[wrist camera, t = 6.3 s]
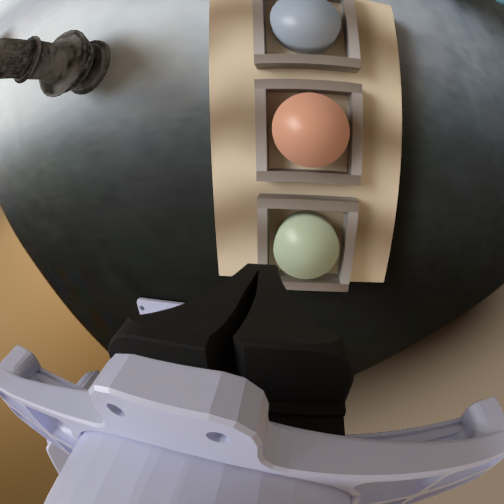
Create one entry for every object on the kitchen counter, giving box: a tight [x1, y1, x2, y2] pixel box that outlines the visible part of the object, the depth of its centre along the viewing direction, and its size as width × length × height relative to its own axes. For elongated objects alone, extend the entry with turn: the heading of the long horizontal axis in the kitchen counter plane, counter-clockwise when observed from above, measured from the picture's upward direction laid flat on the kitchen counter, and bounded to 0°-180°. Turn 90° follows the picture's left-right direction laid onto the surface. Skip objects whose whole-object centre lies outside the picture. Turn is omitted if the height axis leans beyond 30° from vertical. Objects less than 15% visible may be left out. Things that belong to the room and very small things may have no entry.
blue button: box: [270, 0, 341, 54], centre depth 11 cm, size 4×4×2 cm
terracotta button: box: [272, 92, 350, 168], centre depth 13 cm, size 4×4×2 cm
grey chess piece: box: [0, 30, 110, 97], centre depth 11 cm, size 6×6×12 cm
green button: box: [273, 211, 339, 279], centre depth 17 cm, size 4×4×2 cm
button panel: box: [209, 0, 402, 292], centre depth 15 cm, size 20×12×3 cm, turn 1°
